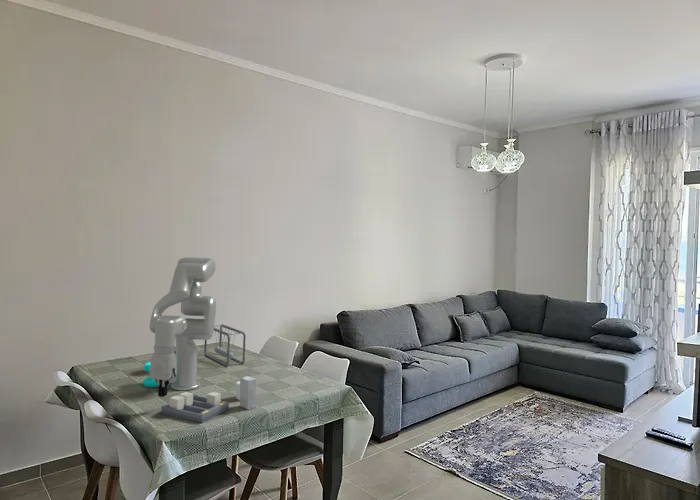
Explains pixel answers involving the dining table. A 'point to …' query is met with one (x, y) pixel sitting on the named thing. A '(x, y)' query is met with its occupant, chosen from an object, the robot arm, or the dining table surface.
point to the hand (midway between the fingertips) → (162, 395)
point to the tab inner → (214, 398)
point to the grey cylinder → (237, 390)
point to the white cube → (177, 402)
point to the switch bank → (197, 410)
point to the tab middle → (187, 398)
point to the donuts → (148, 380)
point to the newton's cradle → (226, 351)
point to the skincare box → (248, 392)
